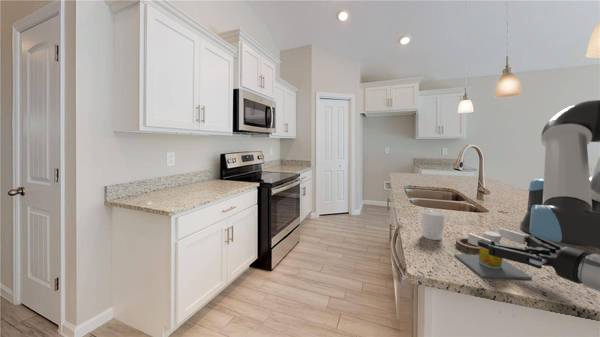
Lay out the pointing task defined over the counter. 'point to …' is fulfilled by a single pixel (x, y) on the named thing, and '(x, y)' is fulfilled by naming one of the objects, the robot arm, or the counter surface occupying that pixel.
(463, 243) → the collar
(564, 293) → the counter surface
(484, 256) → the supplement bottle
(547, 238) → the robot arm
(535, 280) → the counter surface
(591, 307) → the counter surface
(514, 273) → the mat
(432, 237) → the white cup
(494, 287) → the counter surface
